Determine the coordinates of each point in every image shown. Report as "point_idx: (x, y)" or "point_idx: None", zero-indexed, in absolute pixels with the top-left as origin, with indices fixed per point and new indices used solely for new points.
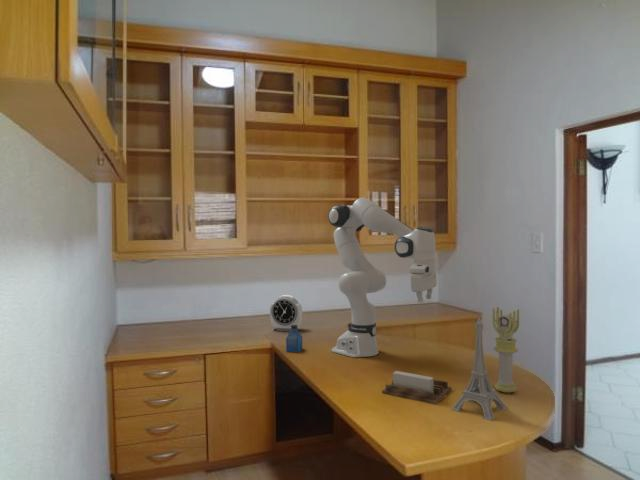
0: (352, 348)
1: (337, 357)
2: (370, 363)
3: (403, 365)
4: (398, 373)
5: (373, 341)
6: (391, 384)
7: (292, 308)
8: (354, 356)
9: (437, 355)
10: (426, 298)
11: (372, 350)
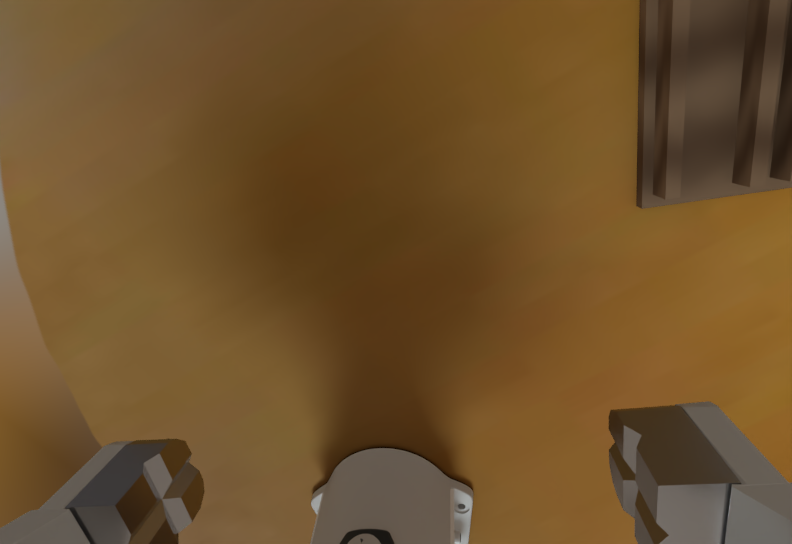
0: (456, 533)
1: (508, 533)
2: (495, 413)
3: (429, 301)
4: None
5: (380, 505)
6: (771, 185)
7: None
8: (471, 493)
9: (191, 258)
10: (200, 496)
11: (400, 471)
